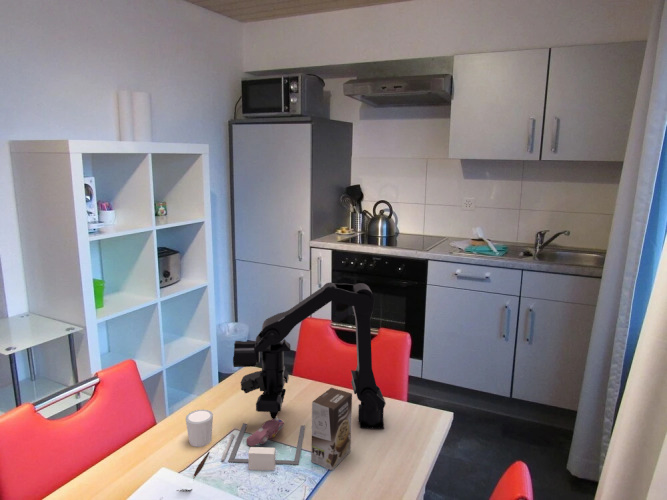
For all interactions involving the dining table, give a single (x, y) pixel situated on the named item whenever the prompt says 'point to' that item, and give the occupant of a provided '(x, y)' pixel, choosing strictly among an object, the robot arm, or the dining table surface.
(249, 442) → the toy car
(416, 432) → the dining table surface
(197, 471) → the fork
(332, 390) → the coffee box
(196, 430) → the grey round cup
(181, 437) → the dining table surface
